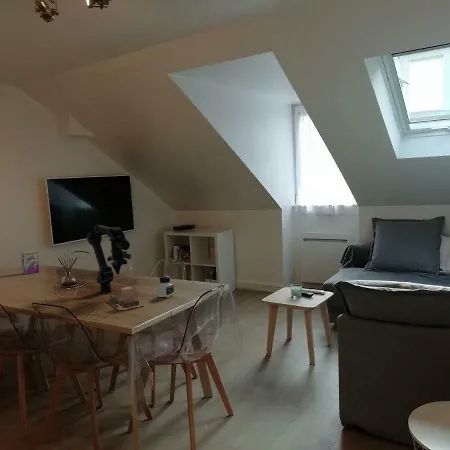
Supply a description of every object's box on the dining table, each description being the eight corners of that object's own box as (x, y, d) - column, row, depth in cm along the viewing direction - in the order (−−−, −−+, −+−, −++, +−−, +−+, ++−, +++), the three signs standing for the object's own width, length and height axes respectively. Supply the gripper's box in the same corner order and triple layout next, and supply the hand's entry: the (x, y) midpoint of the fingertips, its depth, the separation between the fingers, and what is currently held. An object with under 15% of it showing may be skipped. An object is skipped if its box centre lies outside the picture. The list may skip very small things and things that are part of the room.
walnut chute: (105, 301, 262) (105, 294, 262) (128, 297, 270) (128, 290, 269) (119, 311, 242) (119, 304, 242) (144, 306, 250) (144, 299, 249)
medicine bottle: (166, 298, 264) (165, 278, 262) (157, 297, 267) (156, 277, 266) (174, 295, 270) (173, 275, 268) (164, 294, 274) (163, 274, 272)
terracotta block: (122, 304, 252) (121, 288, 251) (130, 302, 255) (129, 286, 254) (125, 306, 248) (124, 289, 247) (134, 304, 250) (133, 288, 249)
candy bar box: (24, 274, 345) (22, 253, 343) (22, 273, 349) (20, 252, 347) (39, 272, 352) (37, 251, 350) (37, 271, 356) (35, 250, 354)
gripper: (134, 249, 267) (136, 275, 269) (123, 245, 283) (125, 270, 285) (116, 251, 261) (118, 278, 263) (106, 247, 277) (107, 272, 279)
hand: (117, 274), depth 273 cm, fingers closed
